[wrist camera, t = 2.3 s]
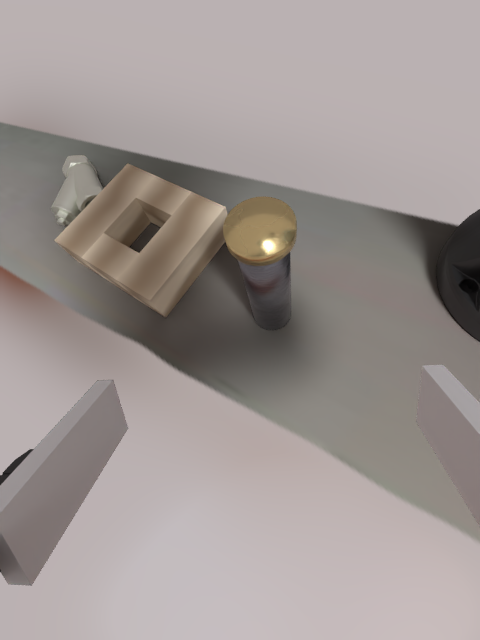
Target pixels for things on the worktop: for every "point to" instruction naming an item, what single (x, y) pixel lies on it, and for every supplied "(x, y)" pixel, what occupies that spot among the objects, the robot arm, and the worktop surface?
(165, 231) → the socket block
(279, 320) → the gold-capped peg
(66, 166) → the pipe fitting
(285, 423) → the worktop surface
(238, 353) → the worktop surface
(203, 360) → the worktop surface
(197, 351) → the worktop surface
